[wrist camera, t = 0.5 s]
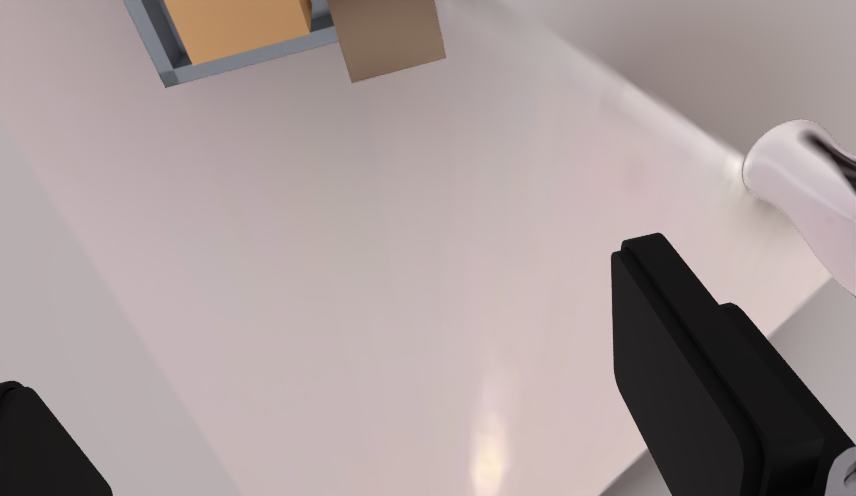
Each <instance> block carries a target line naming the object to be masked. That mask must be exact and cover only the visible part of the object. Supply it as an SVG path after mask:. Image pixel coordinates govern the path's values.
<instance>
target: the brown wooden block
mask: <svg viewBox="0 0 856 496" xmlns="http://www.w3.org/2000/svg"><path fill="white" fill-rule="evenodd" d="M327 3H328V6H329V10H330V13H331V16H332V19H333V23H334V26H335V29H336V33H337V36H338V39H339V42H340V46H341V49H342V52H343V56H344V59H345V62H346V65H347V69H348V72H349V75H350V79H351V82H352V83H354V82H358V81H361V80H365V79H369V78H373V77H376V76H380V75H384V74H388V73H391V72H395V71H399V70H403V69H406V68H410V67H414V66H418V65H421V64H425V63H429V62H433V61H436V60H440V59H444V58H446V55H445V50H444V45H443V40H442V36H441V31H440V26H439V21H438V17H437V12H436V7H435V2H434V0H327Z"/></svg>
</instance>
